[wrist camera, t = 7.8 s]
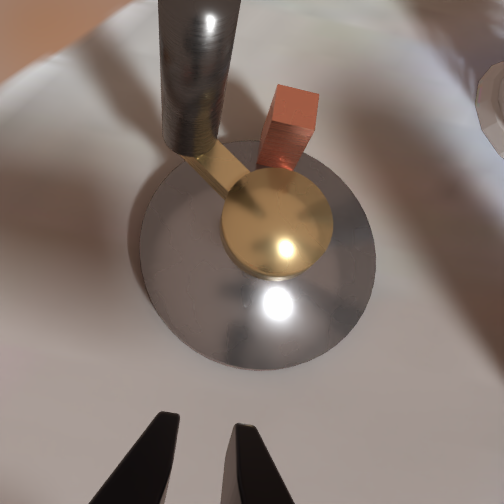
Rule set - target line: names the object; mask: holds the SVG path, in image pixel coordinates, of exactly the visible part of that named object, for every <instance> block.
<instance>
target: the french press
mask: <svg viewBox="0 0 504 504" xmlns="http://www.w3.org/2000/svg"><path fill="white" fill-rule="evenodd" d="M475 106H476V110H477V113H478V117H479V121H480V124H481V128H482V131H483V132H484V134H485V135H486V137H487V138H488V139H489V141H490V142H491V144H492V145H493V147H494V148H495V150H496V151H497V153H498V154H499V155H500V156H501V157H502V158H504V61H502V62H500V63H497V64H494V65H492V66H491V67H490V68H489V70H488V71H487V72H486V73H485V74H484V76H483V77H482V78H481V79H480V81H479V83H478V89H477V95H476V101H475Z"/></svg>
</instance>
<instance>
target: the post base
mask: <svg viewBox="0 0 504 504" xmlns="http://www.w3.org/2000/svg"><path fill="white" fill-rule="evenodd" d="M318 100H319V94H316V93H312V92H308V91H304V90H300V89H296V88H292V87H288V86H283V85H279V84H278V85H277V88H276V91H275V94H274V97H273V100H272V103H271V106H270V109H269V112H268V115H267V118H266V121H265V124H264V127H263V130H262V133H261V139H260V141H238V142H231V143H226V144H222V145H223V146H224V147H225V148H226V149H227V150H229V151H230V152H231V153H232V154H233V155H234V156H235V157H236V158H237V159H238V160H239V161H240V162H241V163H242V164H243V165H244V166H245V167H246V168H247V169H248V170H249V171H250V172H253V171H255V170H259V169H263V168H284V169H288V170H292V171H294V172H297V173H299V174H301V175H303V176H305V177H306V178H308V179H309V180H311V181H312V182H313V183H314V184H315V185H316V186H317V187H318V188H319V189H320V190H321V192H322V193H323V194H324V196H325V197H326V199H327V201H328V203H329V206H330V208H331V212H332V216H333V233H332V237H331V241H330V243H329V245H328V248H327V249H326V251H325V252H324V254H323V255H322V256H321V257H320V258H319V259H318V260H317V261H316V262H315V263H314V264H313V265H312V266H311V267H310V268H309V269H308V270H306V271H305V272H304V273H302V274H301V275H299V276H297V277H294V278H292V279H288V280H283V281H266V280H262V279H258V278H255V277H253V276H251V275H249V274H247V273H245V272H244V271H242V270H241V269H240V268H238V267H237V266H236V265H235V264H234V263H233V262H232V260H231V259H230V258H229V256H228V255H227V253H226V252H225V249H224V247H223V245H222V242H221V238H220V230H219V225H220V218H221V214H222V210H223V206H224V202H225V200H224V199H223V198H222V197H221V196H220V195H219V194H218V193H217V192H216V191H215V190H214V189H213V188H212V187H211V186H210V185H209V184H208V183H207V182H206V181H205V180H204V179H203V178H202V177H201V176H200V175H199V174H198V173H197V172H196V171H195V170H194V169H193V168H192V167H191V166H190V165H189V164H188V163H187V162H186V161H184V162H183V163H181V164H180V165H179V166H178V167H177V168H175V169H174V170H173V171H172V172H171V173H170V174H169V175H168V176H167V177H166V179H165V180H164V181H163V182H162V183H161V185H160V186H159V188H158V189H157V190H156V192H155V193H154V195H153V197H152V199H151V201H150V203H149V205H148V207H147V210H146V213H145V216H144V219H143V223H142V228H141V234H140V262H141V269H142V274H143V278H144V282H145V286H146V289H147V292H148V294H149V297H150V299H151V301H152V304H153V305H154V307H155V309H156V311H157V312H158V314H159V316H160V317H161V319H162V320H163V321H164V323H165V324H166V325H167V326H168V328H169V329H170V330H171V331H172V332H173V333H174V334H175V335H176V336H177V337H178V338H179V339H180V340H181V341H182V342H183V343H185V344H186V345H187V346H189V347H190V348H191V349H193V350H194V351H195V352H197V353H199V354H201V355H203V356H205V357H206V358H208V359H210V360H213V361H215V362H218V363H220V364H223V365H226V366H230V367H234V368H238V369H244V370H254V371H265V370H277V369H283V368H288V367H292V366H295V365H298V364H301V363H304V362H308V361H310V360H312V359H314V358H316V357H318V356H320V355H322V354H324V353H325V352H327V351H328V350H330V349H331V348H333V347H334V346H336V345H337V344H338V343H339V342H340V341H341V340H342V339H343V338H345V337H346V336H347V335H348V333H349V332H350V331H351V330H352V329H353V327H354V326H355V325H356V324H357V322H358V320H359V319H360V317H361V315H362V314H363V312H364V310H365V308H366V306H367V303H368V301H369V299H370V296H371V292H372V288H373V285H374V279H375V271H376V253H375V245H374V239H373V235H372V231H371V228H370V225H369V222H368V220H367V217H366V215H365V212H364V211H363V209H362V207H361V205H360V203H359V201H358V200H357V198H356V197H355V196H354V194H353V193H352V191H351V190H350V189H349V187H348V186H347V185H346V184H345V183H344V182H343V181H342V180H341V179H340V178H339V177H338V176H337V175H336V174H335V173H334V172H333V171H332V170H330V169H329V168H328V167H327V166H325V165H324V164H322V163H321V162H319V161H318V160H316V159H314V158H313V157H311V156H309V155H307V154H305V153H303V151H304V149H305V148H306V146H307V144H308V142H309V140H310V138H311V136H312V134H313V133H314V131H315V124H316V116H317V108H318Z"/></svg>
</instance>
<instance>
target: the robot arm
mask: <svg viewBox="0 0 504 504" xmlns="http://www.w3.org/2000/svg"><path fill="white" fill-rule="evenodd" d="M179 422H180V415H179V414H177V413H170V412H164V411H161V412H159V413H158V414H157V415H156V417H155V418H154V419H153V421H152V422H151V423H150V425H149V426H148V427H147V428H146V430H145V431H144V432H143V434H142V435H141V436H140V437H139V439H138V440H137V441H136V443H135V444H134V445H133V447H132V448H131V449H130V450H129V452H128V453H127V454H126V456H125V457H124V458H123V460H122V461H121V462H120V463H119V465H118V466H117V467H116V469H115V470H114V471H113V473H112V474H111V475H110V476H109V478H108V479H107V480H106V482H105V483H104V484H103V486H102V487H101V488H100V489H99V491H98V492H97V493H96V495H95V496H94V497H93V499H92V500H91V501H90V502H89V504H164V502H165V497H166V493H167V488H168V483H169V479H170V474H171V470H172V465H173V460H174V453H175V447H176V441H177V434H178V428H179ZM221 504H295V503H294V501H293V499H292V497H291V495H290V493H289V491H288V490H287V488H286V486H285V484H284V482H283V480H282V478H281V476H280V474H279V472H278V470H277V468H276V466H275V464H274V462H273V460H272V458H271V456H270V454H269V452H268V450H267V448H266V446H265V444H264V442H263V440H262V438H261V436H260V434H259V432H258V430H257V429H256V427H255V426H253V425H248V424H241V423H237V424H235V425H234V427H233V431H232V434H231V438H230V441H229V445H228V448H227V452H226V457H225V464H224V474H223V484H222V494H221Z"/></svg>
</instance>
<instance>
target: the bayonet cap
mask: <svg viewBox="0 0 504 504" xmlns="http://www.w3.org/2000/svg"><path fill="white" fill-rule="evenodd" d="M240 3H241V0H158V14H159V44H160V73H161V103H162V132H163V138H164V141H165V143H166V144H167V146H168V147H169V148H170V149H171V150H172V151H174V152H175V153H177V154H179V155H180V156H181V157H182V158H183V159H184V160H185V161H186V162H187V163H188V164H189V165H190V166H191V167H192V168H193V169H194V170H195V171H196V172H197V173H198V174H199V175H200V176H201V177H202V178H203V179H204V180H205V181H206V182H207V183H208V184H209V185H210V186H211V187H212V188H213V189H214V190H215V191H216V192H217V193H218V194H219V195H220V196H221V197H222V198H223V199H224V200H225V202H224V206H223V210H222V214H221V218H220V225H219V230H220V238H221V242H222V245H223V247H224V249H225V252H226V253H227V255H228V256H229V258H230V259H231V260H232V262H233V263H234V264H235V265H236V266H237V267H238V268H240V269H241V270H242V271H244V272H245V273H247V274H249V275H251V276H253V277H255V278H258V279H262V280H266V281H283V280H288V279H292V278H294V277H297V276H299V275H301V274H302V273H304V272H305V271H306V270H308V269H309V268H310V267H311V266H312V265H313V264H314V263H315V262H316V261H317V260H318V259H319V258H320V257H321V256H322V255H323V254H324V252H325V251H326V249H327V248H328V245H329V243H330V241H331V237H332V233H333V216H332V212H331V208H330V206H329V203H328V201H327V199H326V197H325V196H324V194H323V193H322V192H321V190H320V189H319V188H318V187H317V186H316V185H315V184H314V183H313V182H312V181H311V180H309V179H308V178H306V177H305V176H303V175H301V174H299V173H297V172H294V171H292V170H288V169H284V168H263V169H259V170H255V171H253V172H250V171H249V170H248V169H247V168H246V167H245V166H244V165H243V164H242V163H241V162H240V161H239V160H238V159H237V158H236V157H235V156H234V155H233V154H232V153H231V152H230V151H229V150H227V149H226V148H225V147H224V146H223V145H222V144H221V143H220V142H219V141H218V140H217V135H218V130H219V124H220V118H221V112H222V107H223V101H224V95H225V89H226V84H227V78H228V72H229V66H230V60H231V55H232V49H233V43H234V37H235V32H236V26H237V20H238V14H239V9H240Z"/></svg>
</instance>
